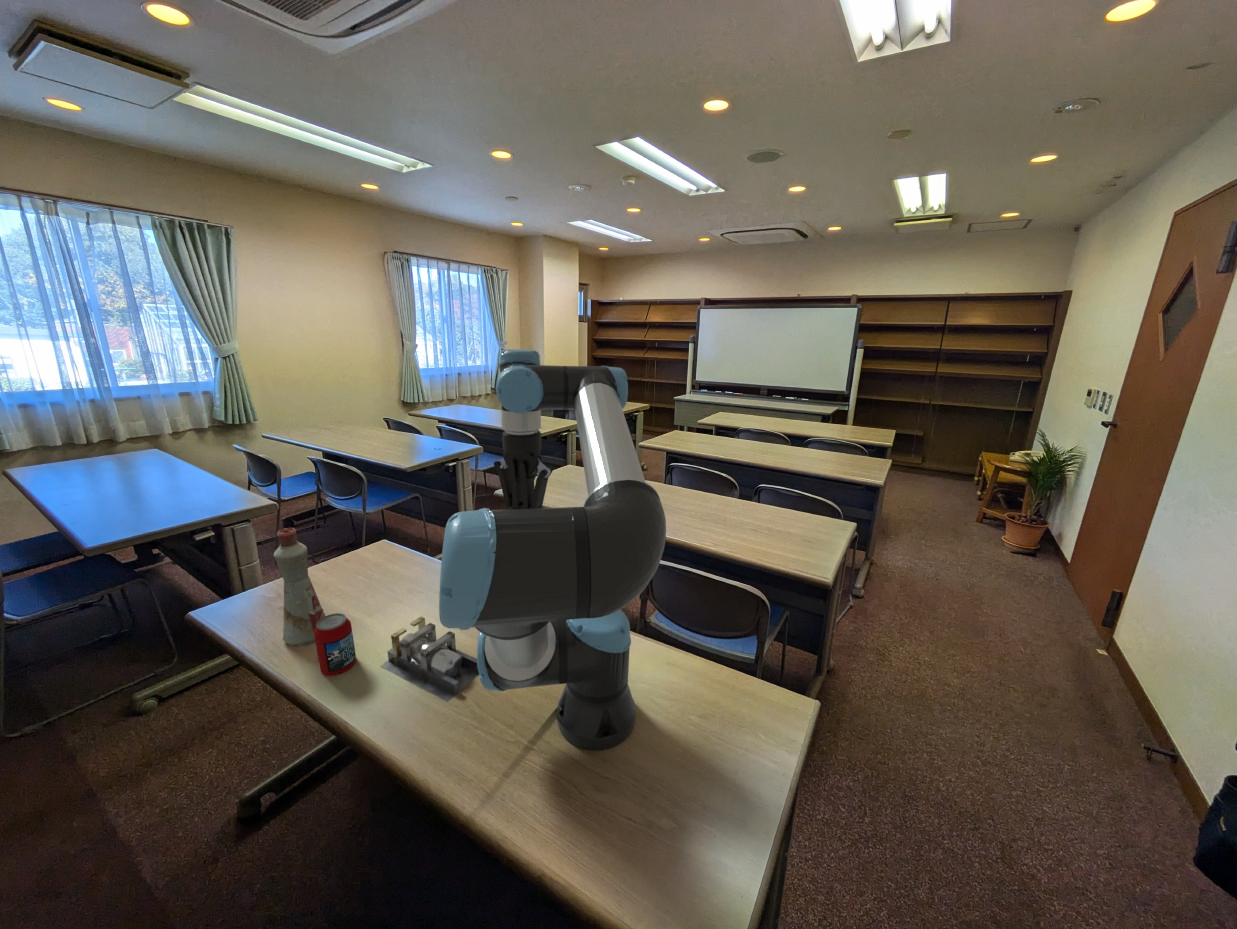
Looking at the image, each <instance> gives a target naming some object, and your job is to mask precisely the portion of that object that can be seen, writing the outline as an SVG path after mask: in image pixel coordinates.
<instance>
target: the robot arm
mask: <svg viewBox="0 0 1237 929" xmlns="http://www.w3.org/2000/svg"><path fill="white" fill-rule="evenodd" d="M498 368H499V374H498V376H497V378H496V380H495V392H496V398H497V400H498V402H499V403H500V405H501V406H500V407H501V408H500V409H501V429H502V430H503V431H502V435H501V437H502V440H501V441H502V449H503V451H504V453H503V456H502V458H500V459H498V460H496V461H494V462H493V466H494V468H495V470H496V472H497V473H498V479H499V482H500V487H501V490H502V494H503V499H504V504H505V507H507V508H511V509H490V508H487V507H483V508H479V509H476V510H468V511H467V510H463V511H459V512H456V513H454V514H452V515H451V516H450V517H449V518H448V520H447V522H446V524H445V528H444V536H443V542H442V543H443V544H442V552H441V553H442V554H441V560H440V562H441V563H440V576H439V577H440V579H439V592H438V594H439V595H438V596H439V601H438V602H439V603H438V612H439V613H438V614H439V621H440V623H441V625H442V626H443V627H445V628H447V629H458V630H461V631H468V630H470V629H471V628H474V629H476V630H477V631H478V632H479V634H478V637H477V638H478V639H477V644H476V645H477V647H476V651H477V652H476V659H477V666H478V672H479V675H478V677H479V681H480V683H481V686H482V687H483V688H484V689H485V690H487V691H498V692H504V691H507V690H516V689H517V690H518V689H525V688H534V687H545V686H552V685H565V686H564V688H563V691H562V693H561V695H560V698H559V701H558V703H557V709H556V710H557V711H556V714H557V715H556V716H557V717H556V721H557V726H558V729H559V731H560V733H561V734H562V736H563V737H564V738H565V739H566V740H567V741H568V742H569V743H570V744H572V745H574V746H576V747H578V748H581V749H584V750H592V751H599V750H600V751H602V750H607V749H611V748H613V747H614V748H615V747H616V746H618V745H620V744H621V743H623V742H624V741H625V740H626V739H627V738H628V737H629V736H630V735H631V733H632V731H633V729H634V727H635V723H636V704H635V701H634V698H633V695H632V691H631V689H630V686H629V666H630V665H629V664H630V647H631V645H632V639H631V626H630V625H631V624H630V621H629V619H628V617H627V615H626V614H625V613H624V611H623V610H622V609H623V608H625V607H626V606H628V605H629V604H631V603H632V602H633V601H634V600H636V599H637V598H638V597H639V596H640V595H641V594H642V593H643V592H644V590H645V589H646V588H647V586H648V585H649V583H650V582H651V580H652V579H653V577H654V575H655V574H656V572H657V569H658V568H659V566H660V563H661V561H662V556H663V553H664V550H665V546H666V539H667V522H666V514H665V510H664V507H663V504H662V501H661V498H660V495H659V494H658V492H657V490H656V489H655V488H654V487H653V486H652V485H651V484H649V483H648V482H646V480H645V479H646V478H645V476H644V473H643V470H642V466H641V464H640V459H639V457H638V454H637V451H636V448H635V445H634V441H633V439H632V435H631V432H630V429H629V426H628V423H627V420H626V417H625V414H624V410H623V409H624V408H626V405H627V402H628V396H629V383H628V382H629V381H628V375H627V373H626V371H625V369H623V368H621V367H616V366H607V365H598V366H596V365H595V366H594V365H593V366H590V365H588V366H587V365H551V364H549V365H547V364H546V365H544V364H541V356H540V353H539V352H538V351H537V350H533V349H503V350H501V351H500V353H499V364H498ZM543 410H544V411H545V410H549V411H550V410H551V411H552V410H555V411H556V410H558V411H559V410H562V411H563V410H565V411H566V410H567V411H569V410H570V411H574V412H575V420H576V426H577V432H578V437H579V444H580V450H581V451H580V452H581V458H582V463H583V464H582V465H583V469H584V477H585V483H586V488H587V498H585V501H584V504H583V505H582V506H571V507H570V506H566V507H543V504H544V500H545V495H546V491H547V486H548V482H549V478H550V476H551V474H552V473H553V471H554V470H553V468H552V467H551V466H549V467H547V466H546V465H545V464H544V463H543V459H542V456H541V450H542V432H541V431H540V429H541V428H542V413H541V412H542V411H543ZM536 475H537V477H536Z"/></svg>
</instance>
